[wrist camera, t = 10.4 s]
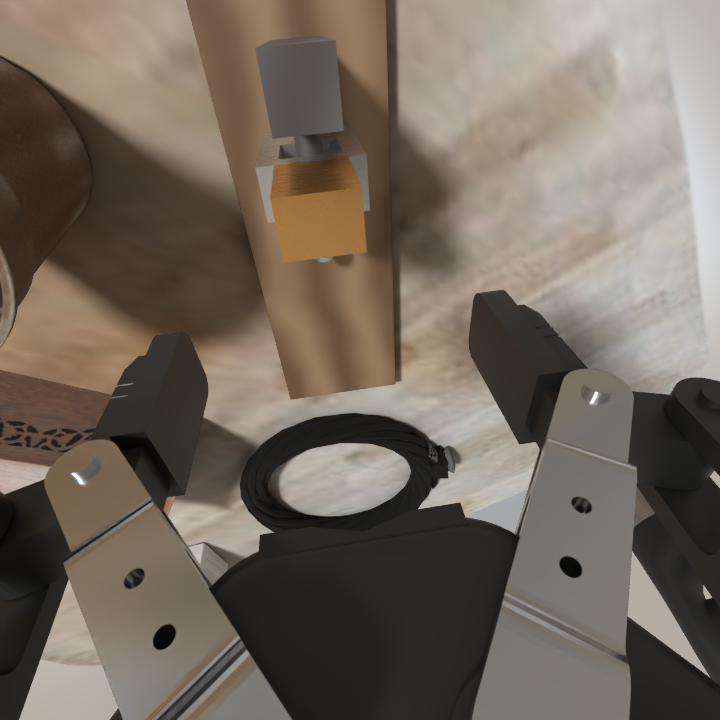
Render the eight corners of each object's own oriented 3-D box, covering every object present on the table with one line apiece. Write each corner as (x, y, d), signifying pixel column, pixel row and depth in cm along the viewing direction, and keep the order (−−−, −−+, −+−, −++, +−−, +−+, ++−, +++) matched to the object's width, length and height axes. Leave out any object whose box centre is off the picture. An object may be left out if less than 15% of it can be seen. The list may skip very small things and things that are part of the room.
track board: (380, -23, 26) (459, -67, 14) (392, 375, 47) (427, 491, 35) (189, -5, 25) (96, -36, 13) (290, 390, 47) (290, 513, 35)
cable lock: (201, 461, 47) (451, 402, 47) (207, 436, 50) (441, 380, 50) (278, 561, 65) (460, 519, 64) (279, 538, 68) (453, 498, 67)
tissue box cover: (197, 412, 47) (179, 486, 40) (171, 482, 55) (151, 556, 47) (-89, 347, 38) (-187, 429, 30) (-74, 444, 45) (-149, 529, 37)
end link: (348, 124, 29) (384, 184, 18) (358, 246, 35) (390, 351, 24) (264, 133, 29) (246, 201, 17) (288, 255, 34) (287, 365, 23)
